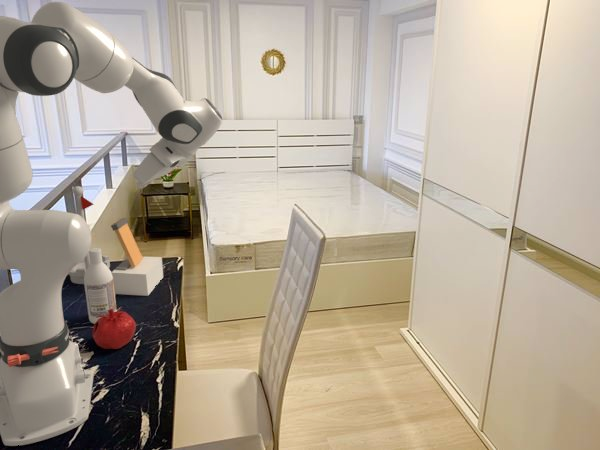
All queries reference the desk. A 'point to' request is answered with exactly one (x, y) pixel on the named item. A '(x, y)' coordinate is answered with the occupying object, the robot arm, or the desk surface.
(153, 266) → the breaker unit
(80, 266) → the flag stand
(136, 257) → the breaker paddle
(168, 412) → the desk surface
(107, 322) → the pomegranate
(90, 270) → the bath foam
